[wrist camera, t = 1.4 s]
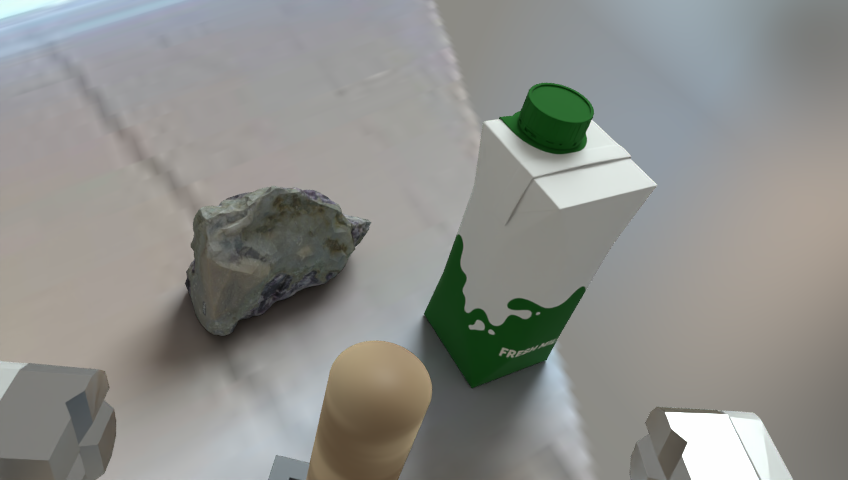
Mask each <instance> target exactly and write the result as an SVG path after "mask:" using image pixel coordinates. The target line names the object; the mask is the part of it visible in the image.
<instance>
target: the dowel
mask: <svg viewBox="0 0 848 480" xmlns="http://www.w3.org/2000/svg"><path fill="white" fill-rule="evenodd" d="M431 397H432V383H431V379H430V376H429V373H428V371H427V369H426V368H425V366H424V365H423V363H422V362H421V361H420V360H419V359H418V358H417V357H416V356H415V355H414V354H413V353H411V352H410V351H408V350H407V349H405V348H403V347H401V346H399V345H396V344H393V343H390V342H385V341H366V342H361V343H358V344H355V345H353V346H351V347H349V348H347V349H346V350H344V351H343V352H342V353H341V354H340V355H339V356H338V357H337V358H336V360H335V361H334V363H333V365H332V367H331V370H330V374H329V378H328V383H327V387H326V392H325V396H324V401H323V405H322V410H321V414H320V419H319V424H318V428H317V433H316V437H315V442H314V446H313V451H312V455H311V460H310V464H309V469H308V473H307V478H306V480H398V478H399V476H400V473H401V471H402V469H403V466H404V464H405V461H406V459H407V457H408V454H409V452H410V449H411V447H412V445H413V442H414V440H415V437H416V435H417V433H418V430H419V428H420V426H421V423H422V421H423V418H424V416H425V414H426V411H427V409H428V406H429V404H430V401H431Z"/></svg>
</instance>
